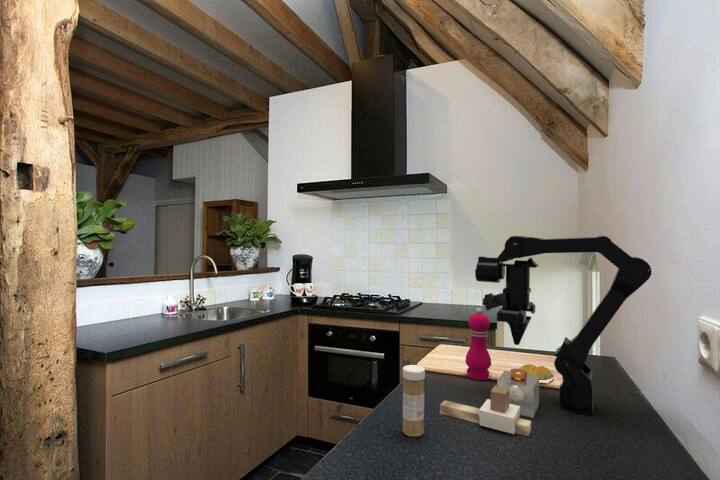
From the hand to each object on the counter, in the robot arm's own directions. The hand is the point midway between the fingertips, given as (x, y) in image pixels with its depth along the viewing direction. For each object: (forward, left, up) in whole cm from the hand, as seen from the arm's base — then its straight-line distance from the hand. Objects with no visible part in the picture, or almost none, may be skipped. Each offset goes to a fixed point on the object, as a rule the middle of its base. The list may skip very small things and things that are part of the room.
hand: (516, 344), depth 102 cm
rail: (+3, +20, -13) cm, 24 cm away
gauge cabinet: (-2, +8, -13) cm, 15 cm away
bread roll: (-3, -16, -14) cm, 21 cm away
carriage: (0, +20, -13) cm, 24 cm away
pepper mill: (+12, -8, -13) cm, 20 cm away
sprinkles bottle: (+14, +33, -13) cm, 38 cm away
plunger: (-2, +8, -10) cm, 13 cm away
